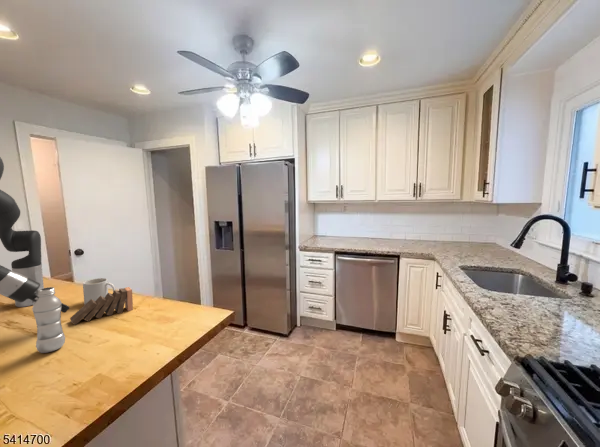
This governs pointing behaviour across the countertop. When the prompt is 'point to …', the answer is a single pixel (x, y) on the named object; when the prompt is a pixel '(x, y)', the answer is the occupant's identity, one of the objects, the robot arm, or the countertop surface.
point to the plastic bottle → (48, 321)
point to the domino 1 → (83, 311)
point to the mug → (96, 289)
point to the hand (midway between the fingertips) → (67, 309)
